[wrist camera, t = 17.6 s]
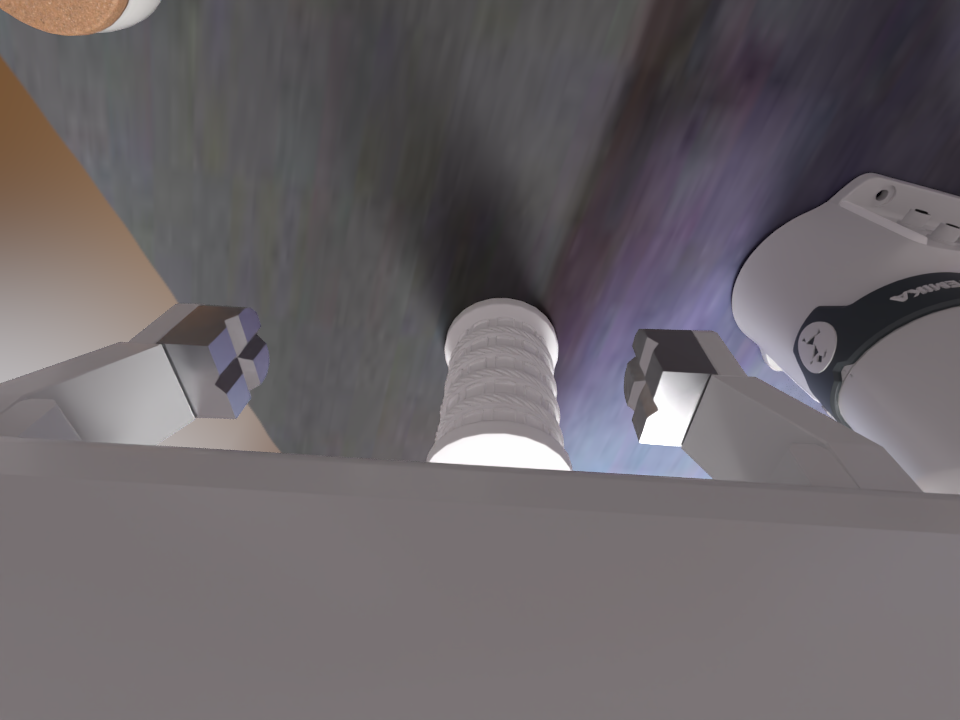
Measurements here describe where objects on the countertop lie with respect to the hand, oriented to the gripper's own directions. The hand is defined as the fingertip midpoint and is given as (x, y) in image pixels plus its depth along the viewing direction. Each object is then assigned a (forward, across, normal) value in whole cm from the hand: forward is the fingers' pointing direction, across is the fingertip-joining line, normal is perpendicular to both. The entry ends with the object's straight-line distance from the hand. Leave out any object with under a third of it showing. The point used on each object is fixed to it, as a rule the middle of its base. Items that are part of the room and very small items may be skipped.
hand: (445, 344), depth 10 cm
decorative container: (+31, -2, +21) cm, 38 cm away
